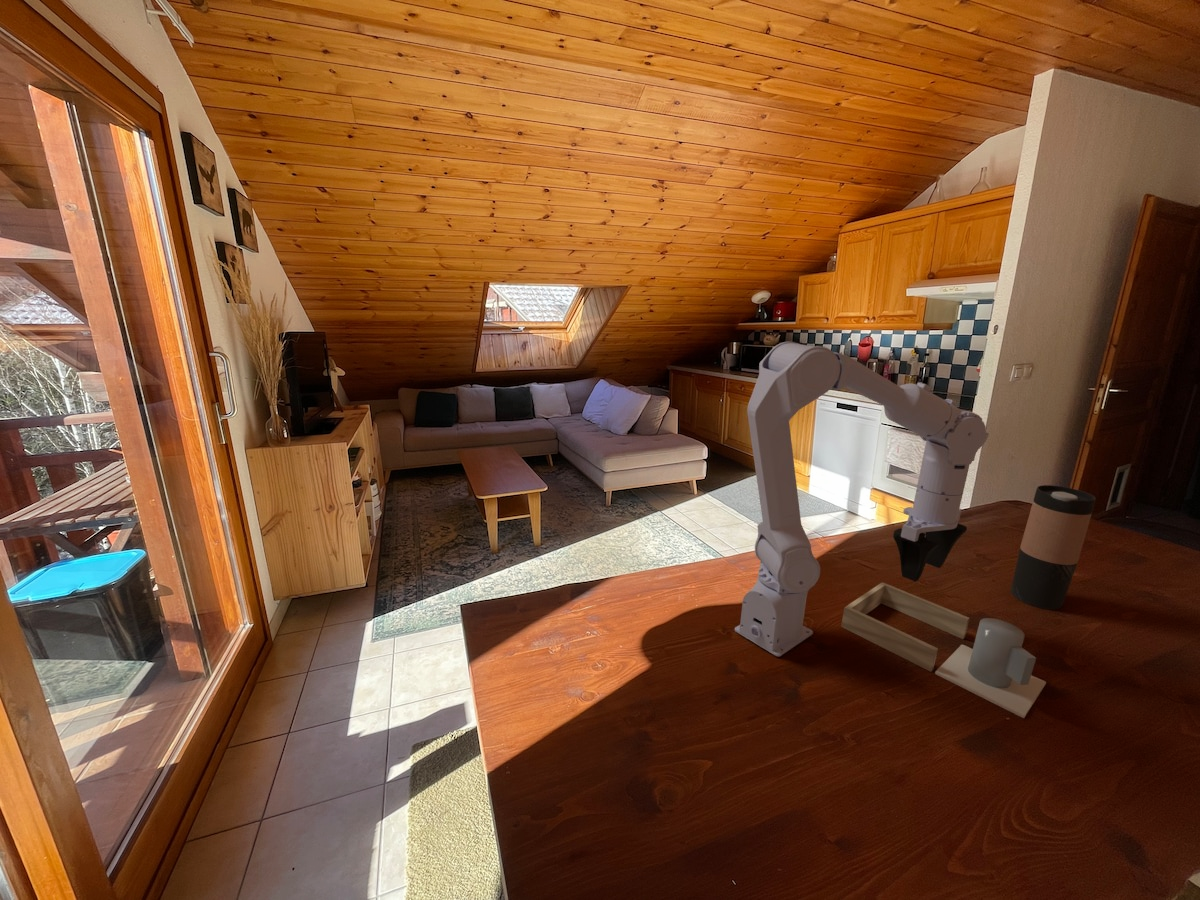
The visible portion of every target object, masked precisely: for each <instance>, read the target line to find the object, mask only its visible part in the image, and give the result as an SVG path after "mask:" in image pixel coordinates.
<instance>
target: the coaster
mask: <svg viewBox="0 0 1200 900" xmlns="http://www.w3.org/2000/svg"><path fill="white" fill-rule="evenodd" d="M972 650H973V648H971V647H969V646H967V645H964V644H960V646H958V648H957V649H956V650H955V651H954V652H953V653H952V654H951V655H950V656H949V657H948V658H947V659H946V660H945V661H944V662H943V663H942V664H941V665H940V666H939V667H938V668H937V669H936V670H935V672H934V675H937V676H938V677H940V678H943V679H944V680H947V681H948V682H950V683H953V684H954V685H956V686H959V687H960V688H962V689H964V690H967V691H969V692H971V693H972V694H975V695H976V696H978V697H981V698H982V699H985V700H986V701H988V702H991V703H992V704H994V705H996V706H999V707H1000V708H1001V709H1002V708H1003V709H1004V710H1006V711H1008V712H1010V713H1013V714H1014V715H1016V716H1018V717H1020V718H1022V719H1025V717H1026V716H1027V715H1028V713H1029V711H1030V709H1031V708H1032V706H1033V705H1034V703H1035V701H1036V700H1037V698H1038V697H1039V696H1040V694H1041V692H1042V691H1043V690H1044V687H1045V686H1046V684H1047V681H1045V680H1043V679H1040V678H1038V677H1036V676H1034V675H1032V674H1031V677H1030V681H1029V684H1028V685H1019V684H1018V683H1017V682H1015V681H1014V680H1013V679H1012V682H1011V685H1010V686H1009V687H1008V688H996V687H992V686H989V685H986V684H984V683H982V682H980V681H978V680H977V679H975V678H974V677H973V676H972V675H971V674H970V673H969V671H968V666H969V662H970V658H971V654H972Z"/></svg>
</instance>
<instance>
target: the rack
mask: <svg viewBox="0 0 1200 900" xmlns="http://www.w3.org/2000/svg"><path fill="white" fill-rule="evenodd" d="M881 604H882V605H884V606H886V607H889V608H891V609H893V610H896V611H897V612H901V613H902V614H904V615H907V616H909V617H911V618H913V619H916V620H918V621H921V622H923V623H925V624H927V625H930V626H932V627H934V628H936V629H938V630H941V631H943V632H946V633H947V634H951V635H952V636H955V637H957V638H959V639H962V640H964V639H965V638H966V635H967V630H968V626H969V623H970V617H968V616H966V615H963V614H962V613H960V612H957V611H954V610H951V609H950V608H946V607H944V606H942V605H939V604H937V603H935V602H932V601H931V600H927V599H925V598H923V597H920V596H917V595H915V594H912V593H909V592H907V591H905V590H902V589H901V588H897V587H895V586H893V585H890V584H888V583H885V582H880V583H879V584H877V585H876V586H875V587H873V588H871V589H870V590H869V591H867V592H865V593H864V594H862V595H861V596H858V598H856V599H855V600H853V601H852V602H850V603H848V605H846V606H844V607H843V608H844V609H843V614H842V619H841V620H842V621H841V628H843V629H845V630H847V631H849V632H850V633H853V634H855V635H857V636H859V637H861V638H862V639H865V640H867V641H869V642H871V643H873V644H875V645H876V646H879V647H880V648H883V649H885V650H887V651H889V652H890V653H893V654H895V655H897V656H898V657H901V658H903V659H905V660H907V661H909V662H911V663H912V664H914V665H917V666H919V667H920V668H922V669H925V670H926V671H929V672H933V671H934V668H935V663H936V659H937V655H938V652H939V651H938V650H939V648H938V647H936V646H934V645H931V644H930V643H928V642H925V641H923V640H921V639H919V638H917V637H914V636H912V635H910V634H908V633H906V632H904V631H901V630H900V629H898V628H896V627H893V626H891V625H888V623H885V622H883V621H880V620H878V619H876V618H874V617H872V616H870V615H868V614H869V613H870V612H872V611H873V610H874V609H876V608H877V607H878V606H881Z"/></svg>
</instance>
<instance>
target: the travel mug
mask: <svg viewBox="0 0 1200 900" xmlns="http://www.w3.org/2000/svg"><path fill="white" fill-rule="evenodd" d="M1096 499H1097V498H1096V497H1095V495H1092V494H1090V493H1088V492H1085V491H1083V490H1079V489H1075V488H1071V487H1065V486H1060V485H1050V484H1046V485H1045V484H1043V485H1039V486H1037V488H1036V491H1035V494H1034V497H1033V500H1032V504H1031V507H1030V512H1029V516H1028V518H1027V523H1026V526H1025V530H1024V532H1023V535H1022V539H1021V544H1020V547H1019V551H1018V556H1017V560H1016V564H1015V565H1016V566H1015V569H1014V573H1013V578H1012V583H1011V588H1010V593H1011V595H1012V596H1013V597H1014V598H1016V599H1017V600H1019V601H1020V602H1023V604H1027V605H1029V606H1032V605H1033V606H1032V607H1035V608H1040V609H1043V610H1051V611H1054V610H1055V611H1056V610H1059V609H1061V608H1062V607H1063V604H1064V602H1065V599H1066V596H1067V593H1068V591H1069V588H1070V585H1071V582H1072V579H1073V578H1074V577H1073V576H1074V574H1075V570H1076V568H1077V566H1078V565H1077V564H1078V562H1079V560H1080V555H1081V552H1082V549H1083V546H1084V541H1085V538H1086V535H1087V531H1088V528H1089V525H1090V521H1091V517H1092V514H1093V511H1094V508H1095V507H1094V506H1095V504H1096Z"/></svg>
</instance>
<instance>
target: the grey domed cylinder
mask: <svg viewBox="0 0 1200 900" xmlns="http://www.w3.org/2000/svg"><path fill="white" fill-rule="evenodd" d="M975 635H976V636H975V639H974V643H973V647H972V649H973V650H972V654H971V658H970V662H969V666H968V671H969V673H970V674H971V675H972V676H973V677H974V678H975V679H977V680H978V681H980V682H982V683H984V684H986V685H989V686H992V687H996V688H1008V687H1009V686H1010V685H1011V682H1012V679H1013V680H1014V681H1015V682H1017V683H1018V684H1019V685H1028V684H1029V681H1030V677H1031V675H1032V673H1033V670H1034V666H1035V664H1036V661H1037V660H1036V659H1037V657H1035V656H1034V655H1033V654H1031V653H1030V652H1029V651H1027V650H1026V649H1025V648H1023V647H1022V646H1023V643H1024V641H1025V633H1024V632H1023V630H1022V629H1020V627H1018V626H1015V625H1014V624H1012V623H1010V622H1008V621H1005V620H1001V619H997V618H992V617H991V618H990V617H985V618H982V619H980V620H979V625H978V627H977V632H976V634H975Z"/></svg>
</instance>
